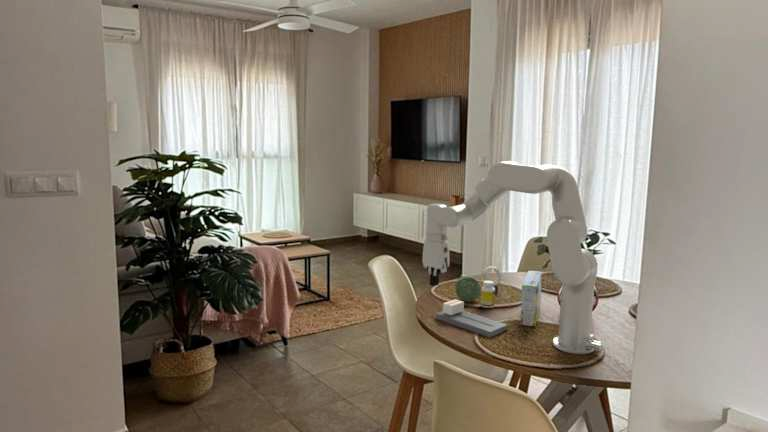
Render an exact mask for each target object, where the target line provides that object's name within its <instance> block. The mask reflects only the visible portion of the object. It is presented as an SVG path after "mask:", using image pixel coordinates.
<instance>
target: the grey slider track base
mask: <svg viewBox="0 0 768 432" xmlns="http://www.w3.org/2000/svg"><path fill="white" fill-rule="evenodd" d="M435 319H436V320H437V321H438V320H439V321H441V322H445V323H447V324H450V325H453V326H456V327H459V328H462V329H464V330H467V331H470V332H473V333H475V334H478V333H479V335H481V334H482V335H481V336H484V335H485V336H484V337H487V336H488V337H487V338H490V337H491V338H493V337H495V336H497V334H498V335H500V334H502V333H504V332H503V331H505V330H507V329H508V327H509V326H508V324H507V323H504V322H501V321H497V320H494V319H491V318H487V317H485V316H482V315H478V314H475V313H472V312H469V311H466V310H464V311H462V312H459V313H457V314H454V315H449V314H446V313H443V310H441V311H438V312H436V313H435ZM507 331H508V330H507ZM501 332H502V333H501ZM505 332H506V331H505ZM499 333H500V334H499ZM494 335H495V336H494ZM492 336H493V337H492Z"/></svg>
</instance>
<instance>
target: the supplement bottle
mask: <svg viewBox="0 0 768 432" xmlns="http://www.w3.org/2000/svg"><path fill="white" fill-rule="evenodd" d="M494 283H495V282H494V281H493V280H487V281H485V280H483V286H482V287H480V288H481V290H480V302H479V303H480V306H481V307H482V308H486V309H491V308H494V307H495V298H496V297H495V296H496V294H495V288H494V287H493V286H494Z"/></svg>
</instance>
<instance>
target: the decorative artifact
mask: <svg viewBox="0 0 768 432" xmlns="http://www.w3.org/2000/svg"><path fill="white" fill-rule="evenodd" d="M481 288H482V287H481V284H480V282H479V280H478V279H476V278H475V277H474V276H471V275H463V276H461V277H460V278H458V279H457V280H456V282H455V284H454V291H455V294H456V296H457V298H459V299H460V301H463V302H472V301H475V300H476V299H477V298H479V296H480V295H481Z"/></svg>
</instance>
